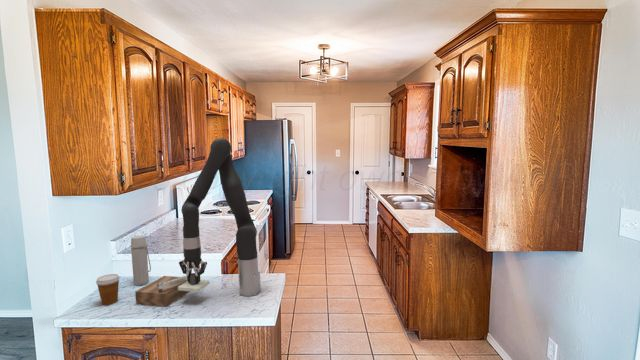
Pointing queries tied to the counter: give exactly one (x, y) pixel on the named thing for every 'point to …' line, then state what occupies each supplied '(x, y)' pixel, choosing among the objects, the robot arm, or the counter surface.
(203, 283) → the lid
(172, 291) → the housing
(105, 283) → the disposable coffee cup
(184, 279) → the latch bar
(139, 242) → the water bottle
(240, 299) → the counter surface
